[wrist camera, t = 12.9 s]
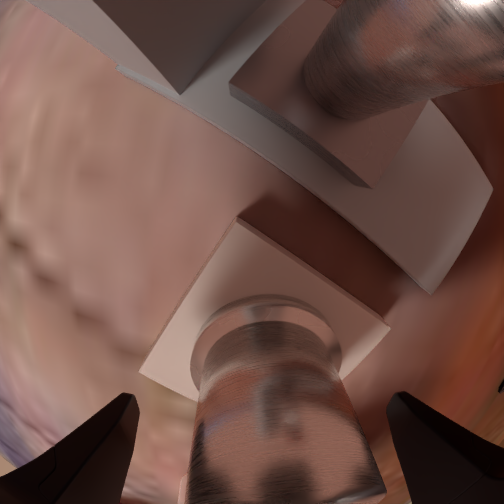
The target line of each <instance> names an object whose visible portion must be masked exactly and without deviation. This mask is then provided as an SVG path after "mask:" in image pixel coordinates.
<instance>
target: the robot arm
mask: <svg viewBox="0 0 504 504" xmlns="http://www.w3.org/2000/svg"><path fill="white" fill-rule="evenodd" d="M498 392H499V393H502V392H504V382H503V383H502V385H501V387H500V388H499V390H498ZM386 413H387V417H388V421H389V426H390V430H391V435H392V439H393V443H394V447H395V450H396V453H397V456H398V459H399V462H400V465H401V468H402V471H403V474H404V477H405V481H406V484H407V487H408V491H409V494H410V497H411V501H412V504H504V448H502V447H500V446H497V445H495V444H493V443H491V442H489V441H486V440H485V439H483V438H481V437H479V436H477V435H476V434H474V433H472V432H470V431H469V430H467V429H465V428H464V427H462V426H460V425H459V424H457V423H455V422H454V421H452V420H450V419H449V418H447V417H446V416H444V415H442V414H441V413H439V412H437V411H436V410H434V409H433V408H431V407H429V406H428V405H426V404H425V403H423V402H421V401H420V400H418V399H417V398H415V397H413V396H412V395H410V394H409V393H407V392H405V391H401V392H397V393H395V394H394V395H393V397H392V399H391V400H390V402H389V404H388V406H387V409H386ZM139 415H140V411H139V407H138V404H137V400H136V397H135V396H134V395H133V394H129V393H121V394H120V395H119V396H117V397H116V398H115V399H114V400H112V401H111V402H110V403H109V404H107V405H106V406H105V407H103V408H102V409H101V410H100V411H98V412H97V413H96V414H95V415H93V416H92V417H91V418H89V419H88V420H87V421H86V422H84V423H83V424H82V425H80V426H79V427H78V428H77V429H75V430H74V431H73V432H71V433H70V434H69V435H67V436H66V437H65V438H63V439H62V440H61V441H59V442H58V443H57V444H55V446H53V447H51V448H50V449H49V450H47V451H46V452H44V453H43V454H42V455H40V456H39V457H37V458H36V459H34V460H32V461H30V462H29V463H27V464H25V465H23V466H21V467H19V468H17V469H16V470H14V471H12V472H10V473H8V474H6V475H4V476H1V477H0V504H119V502H120V498H121V494H122V491H123V487H124V483H125V479H126V476H127V472H128V469H129V465H130V462H131V458H132V455H133V451H134V445H135V439H136V433H137V427H138V421H139Z"/></svg>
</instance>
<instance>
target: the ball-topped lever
mask: <svg viewBox="0 0 504 504" xmlns="http://www.w3.org/2000/svg"><path fill="white" fill-rule="evenodd" d="M498 83H504V0H343V2H342V3H341V4H340V6H339V7H338V9H337V8H335V7H333V6H332V5H330V4H329V3H327V2H325V1H324V0H306V1H305V2H304V3H302V4H301V5H300V6H299V7H298V8H297V9H296V10H295V11H294V12H293V13H292V14H291V15H289V16H288V17H287V18H286V19H285V20H284V21H283V22H282V23H281V24H280V25H279V26H278V27H277V28H276V29H275V30H274V31H273V32H272V33H271V34H270V35H269V36H268V37H267V39H266V40H265V41H264V42H263V43H262V44H261V45H260V46H259V47H258V48H257V49H256V50H255V51H254V53H253V54H252V55H251V56H250V57H249V58H248V59H247V60H246V62H245V63H244V64H243V65H242V66H241V67H240V69H239V70H238V71H237V72H236V73H235V75H234V76H233V77H232V78H231V79H230V81H229V82H228V84H229V91H230V96H232V97H234V98H235V99H237V100H238V101H240V102H242V103H243V104H245V105H247V106H248V107H250V108H251V109H253V110H254V111H256V112H257V113H259V114H261V115H262V116H264V117H265V118H267V119H268V120H270V121H271V122H272V123H274V124H275V125H277V126H278V127H280V128H281V129H283V130H284V131H285V132H287V133H288V134H290V135H291V136H292V137H294V138H295V139H297V140H298V141H299V142H301V143H302V144H303V145H305V146H306V147H307V148H309V149H310V150H311V151H313V152H314V153H315V154H316V155H318V156H319V157H320V158H322V159H323V160H324V161H325V162H327V163H328V164H329V165H330V166H332V167H333V168H334V169H335V170H336V171H338V172H339V173H340V174H341V175H342V176H344V177H345V178H346V179H347V180H348V181H350V182H351V183H352V184H353V185H354V186H359V187H364V188H369V189H373V188H374V187H375V185H376V184H377V183H378V181H379V180H380V178H381V177H382V175H383V174H384V172H385V170H386V169H387V167H388V166H389V164H390V163H391V161H392V160H393V158H394V157H395V155H396V154H397V152H398V150H399V149H400V147H401V146H402V144H403V142H404V141H405V139H406V138H407V136H408V134H409V133H410V131H411V129H412V128H413V126H414V124H415V123H416V121H417V119H418V118H419V116H420V114H421V113H422V111H423V109H424V107H425V106H426V104H427V102H428V101H429V99H431V98H435V97H439V96H443V95H447V94H451V93H455V92H459V91H463V90H468V89H473V88H477V87H482V86H487V85H493V84H498Z"/></svg>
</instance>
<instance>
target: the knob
mask: <svg viewBox="0 0 504 504" xmlns="http://www.w3.org/2000/svg"><path fill="white" fill-rule="evenodd" d="M341 364H342V351H341V346H340V343H339V341H338V339H337V337H336V335H335V333H334V331H333V329H332V327H331V326H330V324H329V322H328V320H327V319H326V318H325V316H324V315H323V314H322V313H321V312H320V311H319V310H318V309H316V308H315V307H313V306H312V305H311V304H309V303H307V302H305V301H303V300H300V299H297V298H294V297H291V296H286V295H278V294H260V295H253V296H248V297H244V298H240V299H238V300H235V301H233V302H230V303H228V304H226V305H225V306H223V307H221V308H220V309H218V310H217V311H215V312H214V313H213V314H212V315H211V316H210V317H209V318H208V319H207V320H206V321H205V322H204V323H203V325H202V326H201V328H200V330H199V331H198V334H197V336H196V339H195V342H194V347H193V351H192V355H191V361H190V372H191V377H192V380H193V383H194V385H195V387H196V388H197V390H198V391H199V397H198V403H197V410H196V417H195V424H194V431H193V438H192V445H191V453H190V461H189V469H188V477H187V485H186V494H185V503H184V504H378V503H379V502H380V501H381V500H382V499H383V498H384V497H385V495H386V493H387V490H386V487H385V485H384V482H383V480H382V477H381V474H380V472H379V469H378V467H377V464H376V462H375V459H374V457H373V454H372V452H371V449H370V447H369V445H368V442H367V440H366V437H365V435H364V432H363V430H362V428H361V425H360V423H359V420H358V418H357V416H356V413H355V411H354V409H353V406H352V404H351V402H350V399H349V397H348V395H347V392H346V390H345V388H344V385H343V383H342V381H341V379H340V376H339V371H340V368H341Z"/></svg>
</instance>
